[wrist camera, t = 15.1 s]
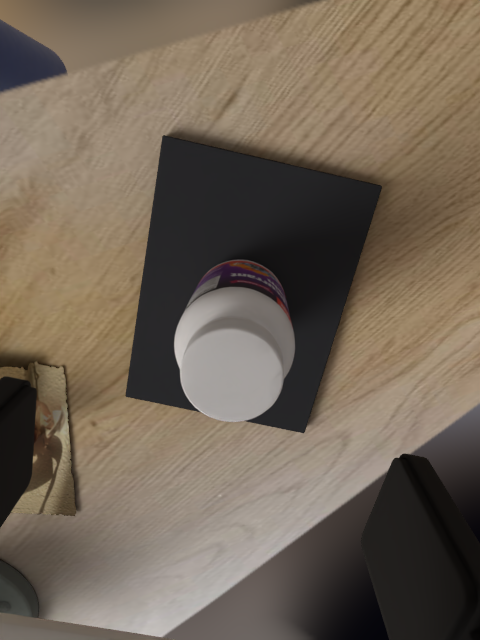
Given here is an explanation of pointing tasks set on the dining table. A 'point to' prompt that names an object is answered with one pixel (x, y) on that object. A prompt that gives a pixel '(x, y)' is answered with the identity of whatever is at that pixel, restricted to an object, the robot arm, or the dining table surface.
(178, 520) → the dining table surface
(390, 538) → the robot arm
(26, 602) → the figurine
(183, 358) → the pill bottle
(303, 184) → the mat
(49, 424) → the ballet pointe shoes
